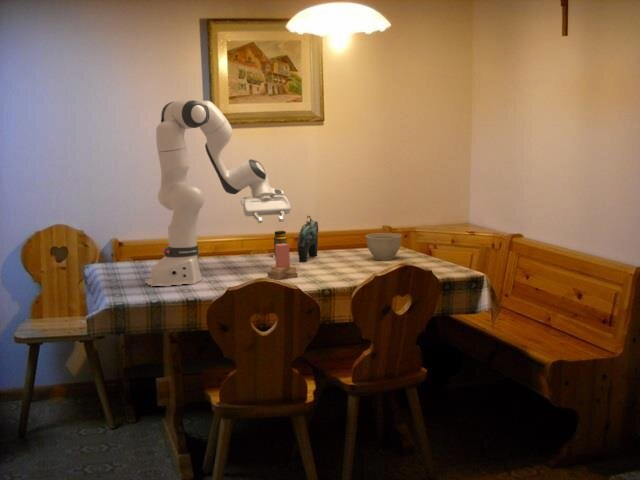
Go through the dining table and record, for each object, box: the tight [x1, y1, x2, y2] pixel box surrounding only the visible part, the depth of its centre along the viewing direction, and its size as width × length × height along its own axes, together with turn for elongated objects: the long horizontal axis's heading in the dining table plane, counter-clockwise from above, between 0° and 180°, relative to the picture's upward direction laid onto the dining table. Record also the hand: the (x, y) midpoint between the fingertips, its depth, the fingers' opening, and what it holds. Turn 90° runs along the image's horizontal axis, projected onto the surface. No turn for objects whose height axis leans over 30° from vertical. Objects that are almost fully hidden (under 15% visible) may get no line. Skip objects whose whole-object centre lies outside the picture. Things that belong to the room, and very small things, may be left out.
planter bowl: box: [365, 232, 402, 261], centre depth 350 cm, size 16×16×11 cm
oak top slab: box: [270, 264, 297, 275], centre depth 312 cm, size 8×8×2 cm
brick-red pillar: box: [274, 243, 291, 268], centre depth 311 cm, size 4×4×9 cm
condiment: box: [268, 230, 288, 259], centre depth 362 cm, size 7×8×12 cm
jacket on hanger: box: [297, 215, 319, 263], centre depth 353 cm, size 20×6×20 cm, turn 162°
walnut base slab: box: [267, 271, 298, 281], centre depth 313 cm, size 9×9×2 cm
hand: (271, 221), depth 321 cm, fingers open, 8 cm apart
